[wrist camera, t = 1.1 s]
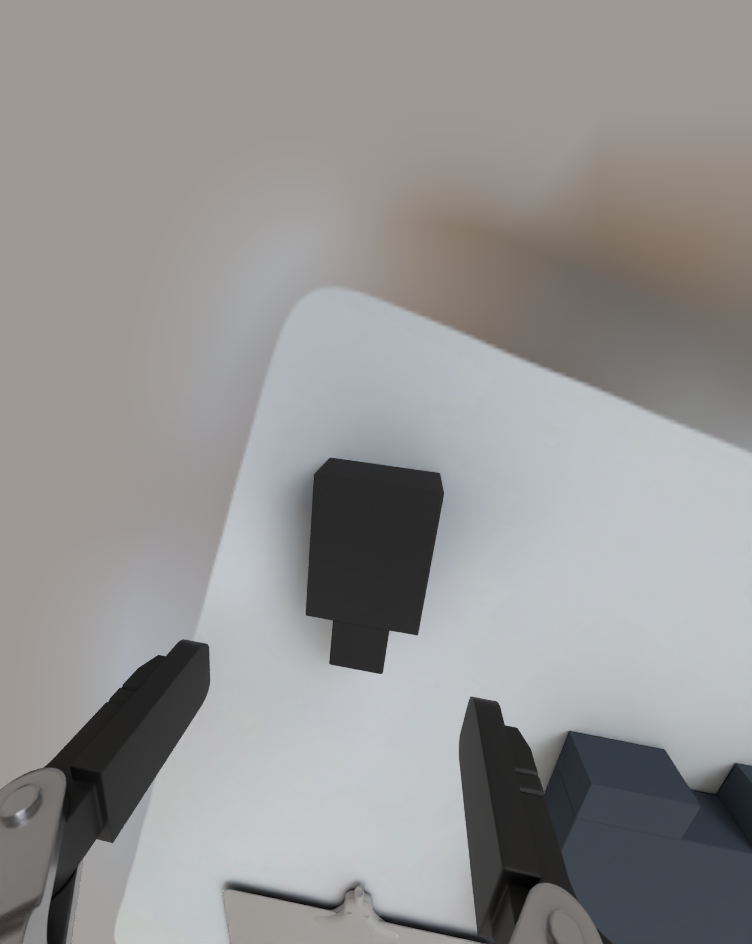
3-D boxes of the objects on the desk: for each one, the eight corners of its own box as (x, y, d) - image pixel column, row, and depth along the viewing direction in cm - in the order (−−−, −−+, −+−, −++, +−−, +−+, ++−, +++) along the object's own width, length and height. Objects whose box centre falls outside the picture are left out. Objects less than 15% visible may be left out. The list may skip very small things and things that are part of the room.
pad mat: (569, 730, 22) (591, 784, 20) (838, 782, 21) (904, 848, 18) (500, 904, 28) (509, 964, 26) (706, 952, 27) (740, 1021, 24)
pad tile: (329, 457, 19) (313, 473, 16) (440, 472, 18) (444, 492, 15) (317, 621, 22) (302, 660, 19) (410, 638, 22) (409, 680, 19)
